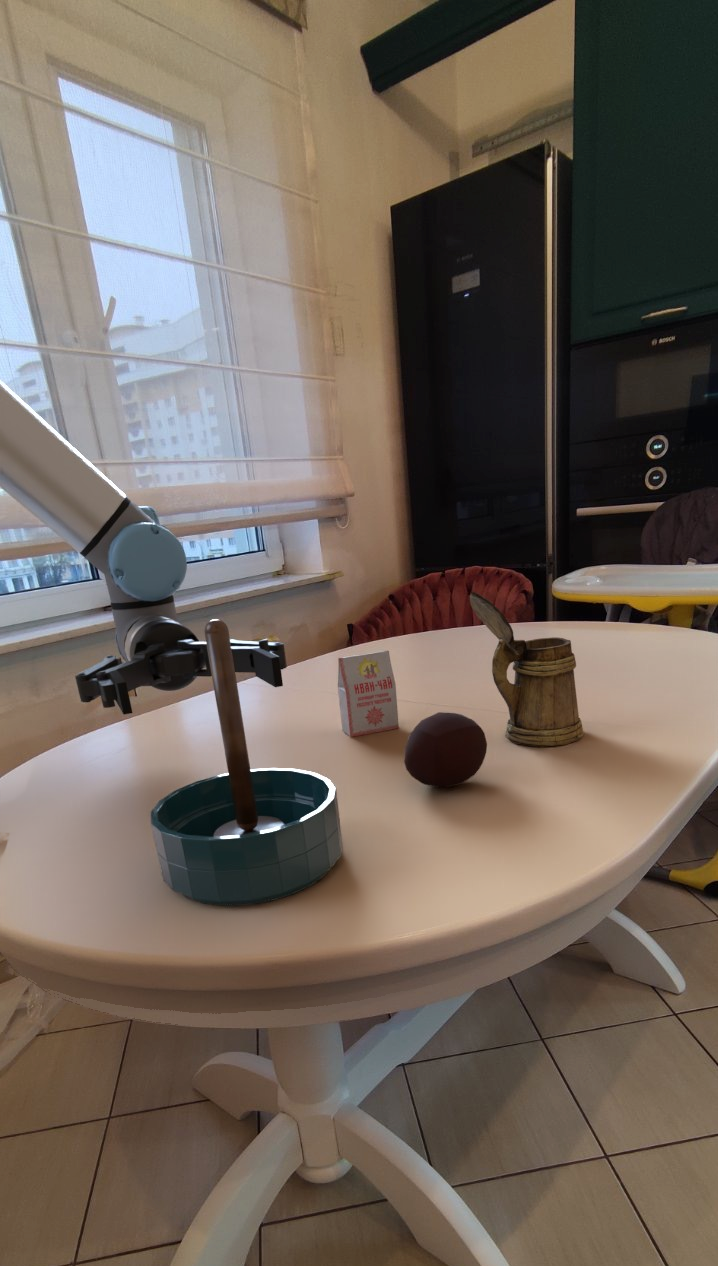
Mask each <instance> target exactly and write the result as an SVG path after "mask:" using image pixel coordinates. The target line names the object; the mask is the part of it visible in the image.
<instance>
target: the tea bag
mask: <svg viewBox="0 0 718 1266" xmlns="http://www.w3.org/2000/svg"><path fill="white" fill-rule="evenodd" d="M337 662H338V665H337V667H338V668H337V670H338V672H337V690H338V691H337V693H338V703H339V711H340V712H339V713H340V720H341V721H340V723H341V730H342V731H343V733H345V734H347V736H348V737H350V738H352V737H358V736H362V735H363V736H364V735H369V734H374V733H380V732H385V731H391V730H396V729H400V725H399V724H400V723H399V713H398V712H399V711H398V698H397V697H398V696H397V684H396V680H395V676H394V670H393V666H392V662H391V656H390V651H389V650H382V651H376V652H370V653H363V654H355V655H349V656H344V657H338V658H337Z"/></svg>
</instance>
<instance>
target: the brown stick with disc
mask: <svg viewBox="0 0 718 1266" xmlns="http://www.w3.org/2000/svg"><path fill="white" fill-rule="evenodd" d="M203 630H204V631H203V632H204V638H205V642H206V645H207V651H208V656H209V662H210V668H211V674H212V676H211V680H212V685H213V691H214V697H215V703H216V710H217V714H218V722H219V726H220V732H221V738H222V744H223V751H224V755H225V761H226V768H227V773H228V774H229V780H230V786H231V791H232V797H233V803H234V809H235V815H236V820H233V821H230V822H228V823H226V824H224V825H222V826H220V827H219V828H218V829H217V830H216V831H215V832H214V835H213V837H218V836H233V835H243V834H248V833H253V832H258V831H263V830H268V829H273V828H276V827H279V826H281V825H284V823H283V822H282V821H281V820H280V819H278V818H275V817H270V816H258V814H257V808H256V801H255V795H254V789H253V782H252V776H251V770H252V769H251V764H250V758H249V751H248V745H247V739H246V733H245V732H246V731H245V727H244V719H243V713H242V708H241V702H240V693H239V689H238V688H239V687H238V683H237V682H238V681H237V674H236V672H235V668H234V662H233V656H232V649H231V643H230V639H231V638H230V631H229V627H228V625H227V624H226V623H225V621H223V620H222V619H217V618H215V619H211V620H209V621H208V622H206V624H205V626H204V629H203Z"/></svg>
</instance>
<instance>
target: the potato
mask: <svg viewBox="0 0 718 1266" xmlns="http://www.w3.org/2000/svg"><path fill="white" fill-rule="evenodd" d="M487 749H488V742H487V739H486V734H485V732H484V730H483V729H482V726H480V725H479V724H478V723H477V722H476V721H475V720H473V719H471V718H469V717H468V716H466V715H463V714H460V713H456V712H444V711H443V712H442V711H441V712H440V711H439V712H437V713H436V712H435V713H434V714H432V715H430V716H427V717H425V718H424V719H421V720H420V721H419V722H418V724H416V726H415V727H414V728H413V730H412V731H411V733H410V734H409V735H408V738H407V741H406V744H405V747H404V760H403V762H404V766H405V769H406V771H407V772H408V774H409V775H410V776H411V778H413V779H415V780H416V781H418V782H419V783H421V784H423V785H426V786H431V787H434V788H435V787H436V788H441V789H443V788H450V787H454V786H458V785H461V784H463V783H464V782H467V781H468V780H469V779H471V778H472V777H474V776H475V775H476V774H477V772H479V770H480V769H481V767H482V765H483V764H484V761H485V758H486V754H487V751H488V750H487Z"/></svg>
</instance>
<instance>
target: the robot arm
mask: <svg viewBox="0 0 718 1266" xmlns="http://www.w3.org/2000/svg"><path fill="white" fill-rule="evenodd" d="M0 489H2V490H3V491H4V492H5V493H7V494H8V495H9V496H10V497H11V498H13V500H15V501H16V502H17V503H19V504H20V505H21V506H22V507H23V508H24V509H26V510H27V511H28V512H30V514H32V515H33V516H34V517H36V518H37V519H38V520H39V521H40V522H42V523H43V525H45V526H46V527H47V528H49V529H50V530H51V531H52V532H53V533H55V534H56V535H57V536H58V537H60V538H61V539H62V540H63V541H64V542H65V543H67V544H68V546H70V547H72V549H74V550H75V551H76V552H77V553H78V554H80V555H81V556H82V557H83V558H84V559H85V560H86V561H87V562H88V563H90V565H92V566H93V567H95V568H96V569H97V570H98V571H99V572H101V573H102V574H103V575H104V578H105V583H106V588H107V591H108V595H109V596H108V597H109V599H110V607H111V612H112V618H113V623H114V627H115V634H114V638H115V642H116V648H117V651H118V653H119V655H120V656H121V657H122V658H121V657H120V656H118V657H117V656H116V655H112V654H110V655H109V654H108V655H107V656H105V657H103V660H102V661H100V662H98V663H96V664H95V665H93V666H90V667H88V668H87V669H85V670H83V671H81V672H79V673H78V674H75V675H74V678H75V682H76V687H77V690H78V694H79V699H80V702H81V703H85V704H86V703H91V702H92V701H94V700H96V699H98V698H99V697H100V699H101V703H102V707H103V708H104V709H109V708H114V707H116V704H117V706H118V707H119V709H120V711H121V713H122V715H129V714H133V708H132V704H131V699H130V694H129V693H130V692H131V691H133V690H135V689H139V688H140V687H151V688H154V689H156V690H159V691H165V692H174V691H180V690H182V689H184V688H187V687H188V686H190V685H191V684H192V683H193V682H194V681H195V680H196V679H197V677H202V678H203V677H207V678H208V677H209V678H210V677H212V674H211V668H210V662H209V656H208V651H207V645H206V641H200V640H199V638H198V636H196V634H195V633H194V632H193V631H192V630H191V629H189V627H186V626H185V625H183V624H181V623H179V619H178V615H177V609H176V608H177V607H176V605H175V599H174V594H175V593H176V592H177V591H178V590H179V589H180V587H181V586H182V585H183V582H184V581H185V578H186V576H187V575H186V574H187V570H188V561H187V555H186V552H185V549H184V547H183V545H182V543H181V541H180V540H179V539H178V538H177V536H176V535H174V533H173V532H172V531H171V530H170V529H168V528H167V527H166V526H165V525H161V524H160V523H161V522H160V519H159V515H158V512H157V510H156V509H155V508H154V507H152V506H150V505H149V506H147V505H145V506H144V505H143V506H142V505H141V506H138V505H137V504H136V503H135V502H133V501H132V500H131V499H130V498H129V497H128V496H127V495H126V494H125V493H124V492H123V491H122V490H121V489H120V488H119V487H118V486H116V485H115V484H114V482H112V480H110V479H109V478H108V477H107V476H105V475H104V473H102V472H101V471H100V470H99V469H98V468H97V467H95V466H94V465H93V464H92V462H91V461H90V460H88V459H87V458H86V457H85V456H84V455H83V454H81V453H80V452H79V451H78V450H77V449H76V448H75V447H73V446H72V444H71V443H69V441H68V440H66V439H65V438H64V437H63V436H62V435H61V434H60V433H58V432H57V431H56V429H54V428H53V427H52V426H51V425H50V424H49V423H47V422H46V421H45V420H44V418H42V417H41V416H40V415H39V414H38V413H36V412H35V410H34V409H32V408H31V407H30V406H29V405H28V404H27V403H26V402H24V400H23V399H21V398H20V397H19V396H18V395H17V394H16V393H15V392H14V391H12V390H11V389H10V387H8V386H7V385H6V384H5V383H4V382H3V381H2V380H0ZM230 643H231V649H232V656H233V662H234V668H235V673H251V674H253V673H254V674H255V677H256V678H258V679H260V680H262V681H263V682H265V683H266V684H269V685H270V686H272V687H273V688H280V687H284V683H283V677H282V671H283V670H284V669H287V667H288V665H287V658H286V649H285V643H284V642H280V641H277V642H273V641H271V642H270V641H269V640H268V638H264V639H261V640H258V641H253V640H238V639H235V638H230ZM122 659H123V660H124V661H122ZM115 702H116V703H115Z"/></svg>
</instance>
